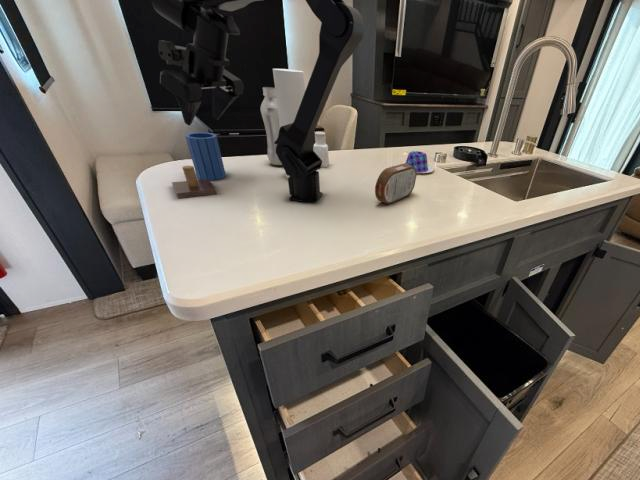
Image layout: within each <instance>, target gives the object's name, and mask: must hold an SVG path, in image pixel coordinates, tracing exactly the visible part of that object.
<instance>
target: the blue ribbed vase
mask: <svg viewBox="0 0 640 480" xmlns="http://www.w3.org/2000/svg"><path fill="white" fill-rule="evenodd" d="M185 140H186V143H187V146H188V147H187V148H188V151H189V154H190V157H191V161H192V164H193V167H194V171H195V174H196V178H197V179H198V180H203V179H209V180H210V181H219V180H222V179H224V178H226V177H227V175H226V174H227V173H226V170H225V166H224V161H223V157H222V152H221V148H220V145H219V140H218V135H217V134H215V133H212V132H205V131H204V132H203V131H202V132H199V131H198V132H190V133H186V134H185Z"/></svg>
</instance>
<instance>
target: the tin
mask: <svg viewBox="0 0 640 480" xmlns="http://www.w3.org/2000/svg"><path fill="white" fill-rule="evenodd" d="M403 163H404V164H401V163H399V164H400V165H399V164H396V165H393V166H389V167H386V168H385V169H383V170H382V171H381V173H379V176H377V177H378V178H377V179H376V182H375V188H374V194H375V197H376V200H377V201H379V202H382V203H384V204H388V205H390V204H392V203H395V202H397V201H400V200H403V199H405V198H407V197H408V196H410V195H411V193H412V192H413V190H414V188H415V185H416V181H417V174H418V173H417V172H416V169H415V168H414V167H412V166H410V165H408V164H406V163H405V162H403Z"/></svg>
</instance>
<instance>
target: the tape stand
mask: <svg viewBox="0 0 640 480" xmlns="http://www.w3.org/2000/svg"><path fill="white" fill-rule="evenodd" d="M182 171H183V174H184V178H185V180H183V181H172V182H171V184H172V188H173V190H174V192H175V194H176V197H177V199H185V198H194V197H202V196H211V195H217V190H216V188H215V186H214V185H213V183H212V182H211V180H209V179H203V180H202V179H198V178H197V175H196V171H195V168H194V165H183V166H182Z"/></svg>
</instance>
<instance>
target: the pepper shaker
mask: <svg viewBox="0 0 640 480" xmlns="http://www.w3.org/2000/svg"><path fill="white" fill-rule="evenodd" d="M326 138H327V137H326V132H324V131H314V146H313V151H314V152H315V153H316V154H317V155H318V156H319V158H320V159H321V160H322V165H321V168H327V167H328V166H329V164H330V158H329V144H327V143H326V140H327V139H326Z"/></svg>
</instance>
